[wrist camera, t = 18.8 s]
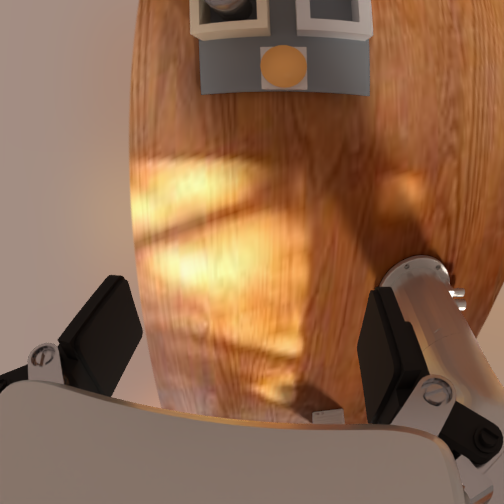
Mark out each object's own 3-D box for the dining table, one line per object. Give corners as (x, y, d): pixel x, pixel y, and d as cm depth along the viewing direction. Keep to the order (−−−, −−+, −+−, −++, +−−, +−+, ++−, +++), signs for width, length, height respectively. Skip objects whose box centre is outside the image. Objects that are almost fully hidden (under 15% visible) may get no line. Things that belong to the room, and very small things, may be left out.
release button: (303, 53, 29) (306, 45, 24) (304, 89, 31) (307, 87, 26) (264, 53, 30) (259, 45, 25) (265, 88, 32) (261, 87, 27)
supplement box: (344, 422, 65) (347, 466, 54) (314, 425, 67) (314, 470, 56) (344, 407, 62) (347, 455, 51) (311, 411, 63) (311, 459, 52)
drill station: (361, -18, 25) (373, -35, 19) (366, 95, 33) (380, 96, 27) (200, -17, 27) (184, -33, 22) (204, 94, 35) (188, 95, 29)
